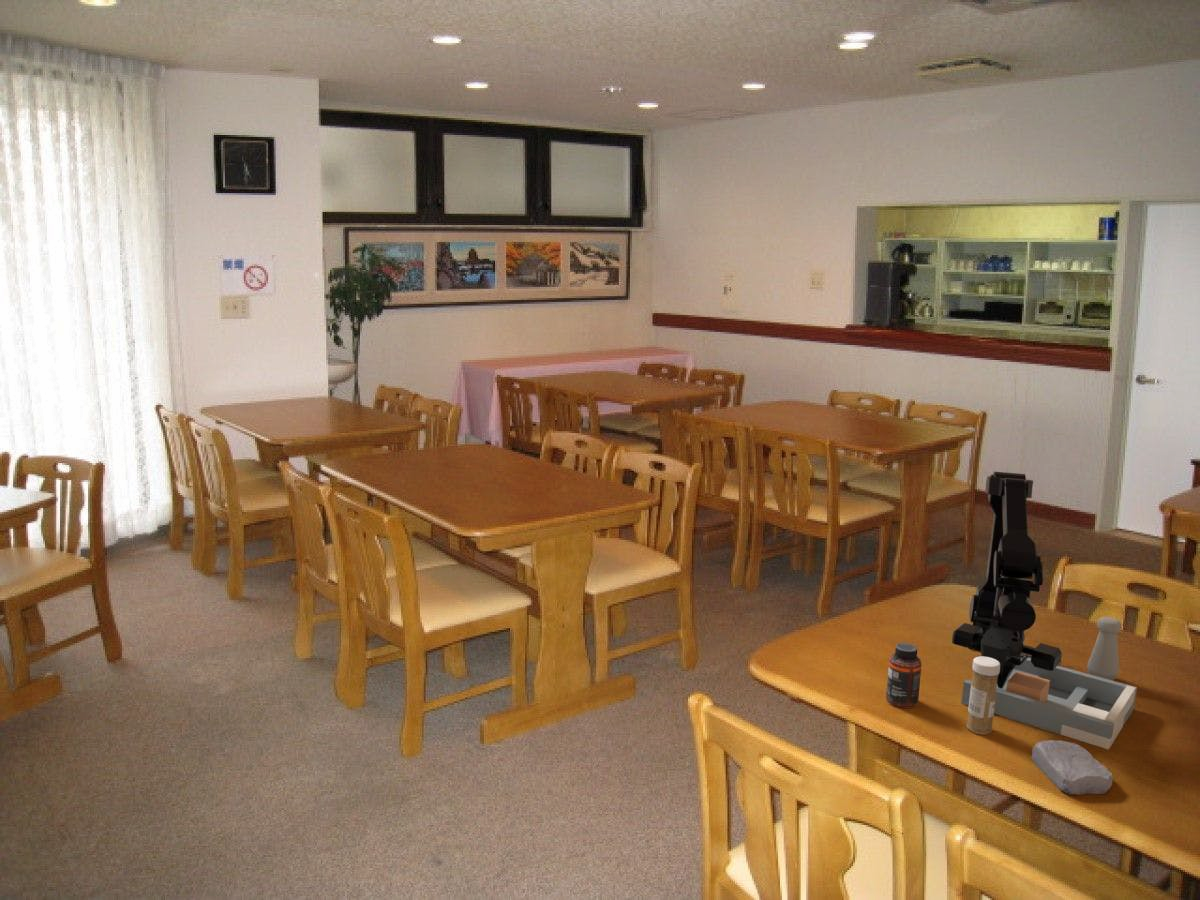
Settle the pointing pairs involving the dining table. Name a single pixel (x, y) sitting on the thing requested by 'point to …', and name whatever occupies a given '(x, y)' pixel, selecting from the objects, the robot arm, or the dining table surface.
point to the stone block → (1071, 767)
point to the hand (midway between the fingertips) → (1000, 687)
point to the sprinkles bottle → (982, 695)
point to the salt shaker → (1105, 650)
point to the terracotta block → (1029, 686)
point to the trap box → (1068, 704)
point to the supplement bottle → (904, 676)
